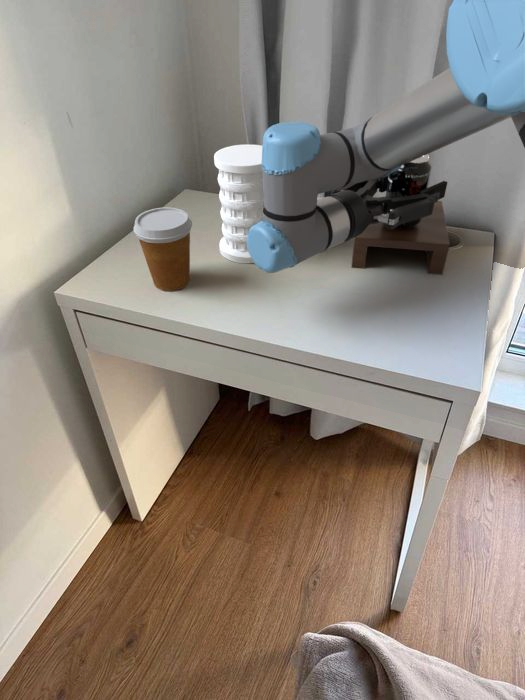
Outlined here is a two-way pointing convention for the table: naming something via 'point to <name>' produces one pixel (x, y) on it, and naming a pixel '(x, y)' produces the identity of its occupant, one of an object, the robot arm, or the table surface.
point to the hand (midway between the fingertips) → (423, 182)
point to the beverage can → (409, 182)
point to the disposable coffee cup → (166, 246)
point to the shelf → (408, 240)
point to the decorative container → (239, 197)
